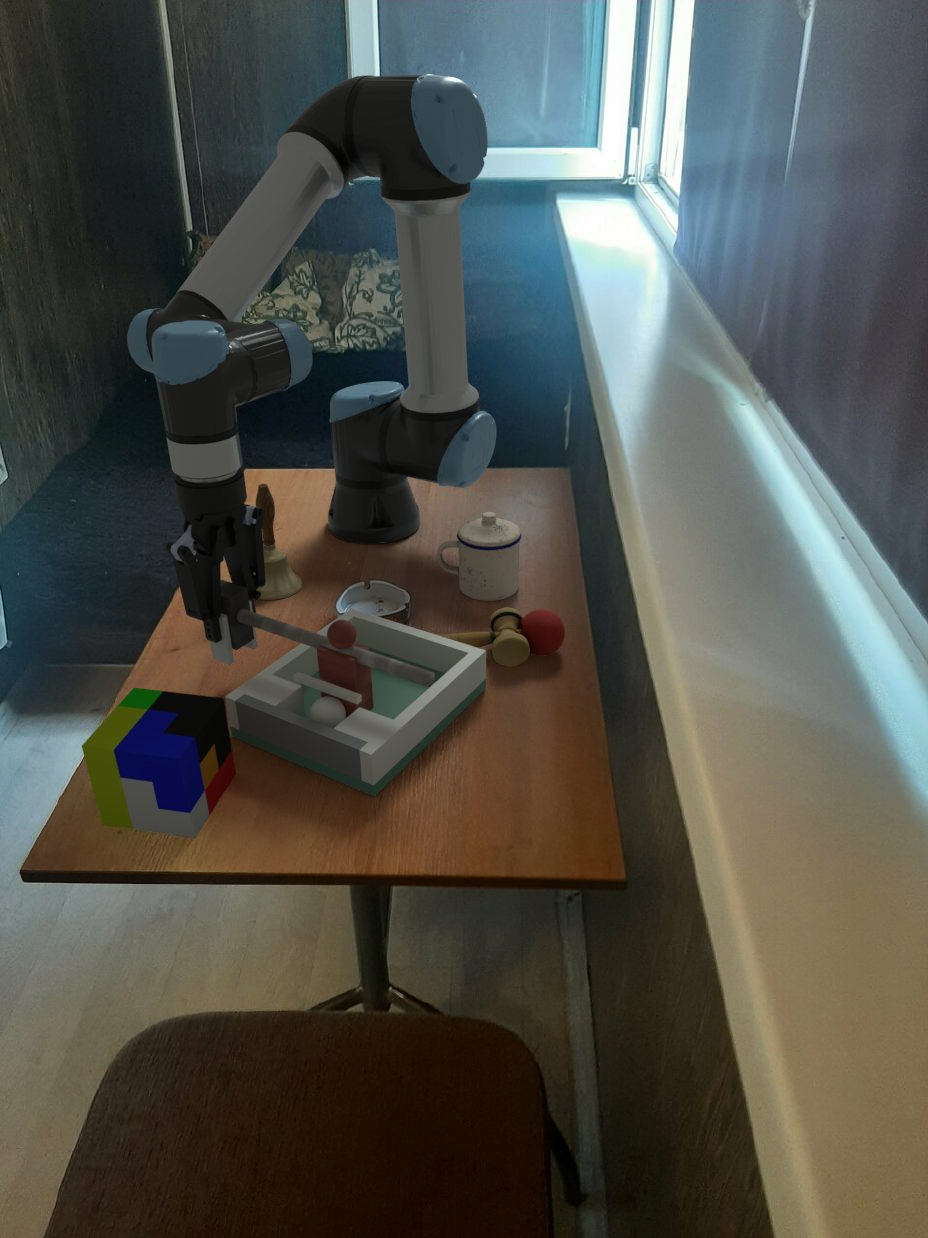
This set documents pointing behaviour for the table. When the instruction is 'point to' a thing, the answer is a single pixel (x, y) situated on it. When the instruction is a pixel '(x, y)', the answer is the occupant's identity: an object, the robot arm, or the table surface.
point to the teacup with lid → (486, 558)
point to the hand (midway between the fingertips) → (235, 652)
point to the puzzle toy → (161, 761)
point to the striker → (320, 648)
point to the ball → (328, 711)
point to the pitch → (365, 739)
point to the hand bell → (274, 555)
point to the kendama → (517, 635)
